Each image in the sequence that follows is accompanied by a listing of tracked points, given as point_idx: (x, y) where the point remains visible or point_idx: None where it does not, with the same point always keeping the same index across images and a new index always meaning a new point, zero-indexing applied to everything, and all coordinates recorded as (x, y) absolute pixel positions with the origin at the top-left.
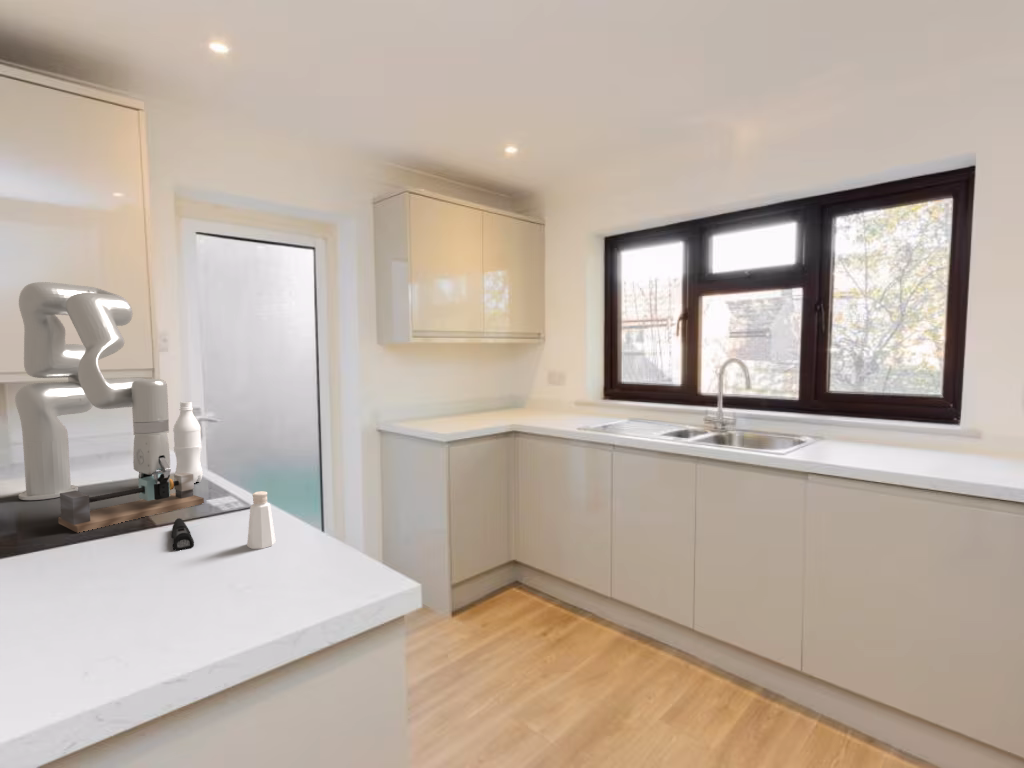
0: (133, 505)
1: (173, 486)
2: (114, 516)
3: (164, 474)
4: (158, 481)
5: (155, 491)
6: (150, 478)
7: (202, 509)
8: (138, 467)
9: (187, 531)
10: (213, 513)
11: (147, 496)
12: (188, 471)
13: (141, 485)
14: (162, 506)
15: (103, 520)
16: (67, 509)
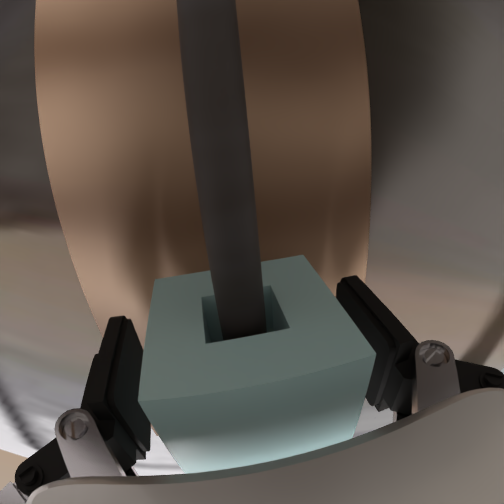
0: (273, 200)
1: None
2: (71, 60)
3: (3, 490)
4: (58, 435)
5: (99, 358)
6: (263, 428)
7: (73, 394)
8: (389, 494)
9: None
10: (9, 390)
11: (158, 296)
12: None
13: (288, 327)
14: (110, 313)
15: (37, 12)
16: None
